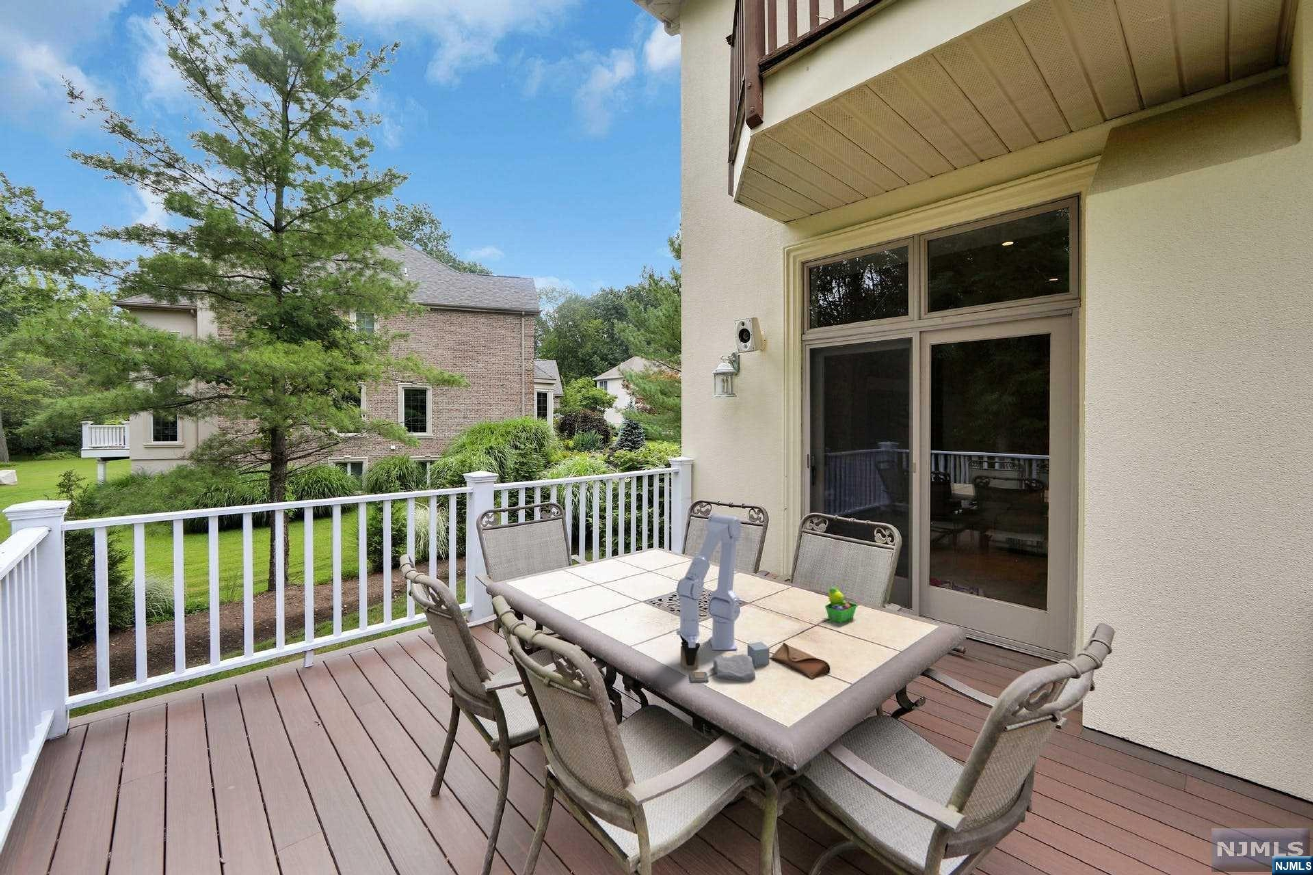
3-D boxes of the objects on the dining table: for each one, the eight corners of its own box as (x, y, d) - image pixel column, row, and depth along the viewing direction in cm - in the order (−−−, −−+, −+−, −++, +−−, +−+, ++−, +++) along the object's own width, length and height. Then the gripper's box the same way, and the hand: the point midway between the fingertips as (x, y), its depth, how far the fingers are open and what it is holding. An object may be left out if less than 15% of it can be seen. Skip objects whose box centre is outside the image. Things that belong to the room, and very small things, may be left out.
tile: (689, 673, 156) (689, 671, 156) (706, 673, 156) (706, 671, 156) (691, 682, 151) (691, 679, 151) (708, 681, 151) (708, 679, 151)
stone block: (757, 686, 152) (750, 664, 162) (758, 672, 151) (750, 650, 161) (717, 688, 152) (712, 666, 161) (717, 674, 151) (712, 652, 160)
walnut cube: (680, 661, 163) (680, 646, 163) (696, 661, 164) (696, 645, 163) (682, 669, 158) (682, 653, 158) (698, 669, 159) (698, 652, 158)
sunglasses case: (766, 657, 166) (773, 637, 168) (778, 663, 170) (785, 643, 172) (813, 680, 152) (821, 657, 154) (825, 686, 156) (833, 664, 157)
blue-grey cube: (747, 659, 166) (747, 643, 165) (761, 657, 167) (761, 641, 167) (754, 666, 161) (755, 650, 161) (769, 663, 162) (769, 648, 162)
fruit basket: (841, 624, 194) (842, 594, 193) (821, 617, 200) (821, 588, 200) (858, 617, 201) (858, 588, 200) (837, 611, 208) (837, 583, 207)
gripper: (674, 608, 168) (674, 650, 168) (678, 626, 153) (678, 672, 154) (696, 608, 168) (696, 650, 168) (702, 626, 153) (702, 671, 154)
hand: (689, 660), depth 161 cm, fingers closed on walnut cube, 5 cm apart
